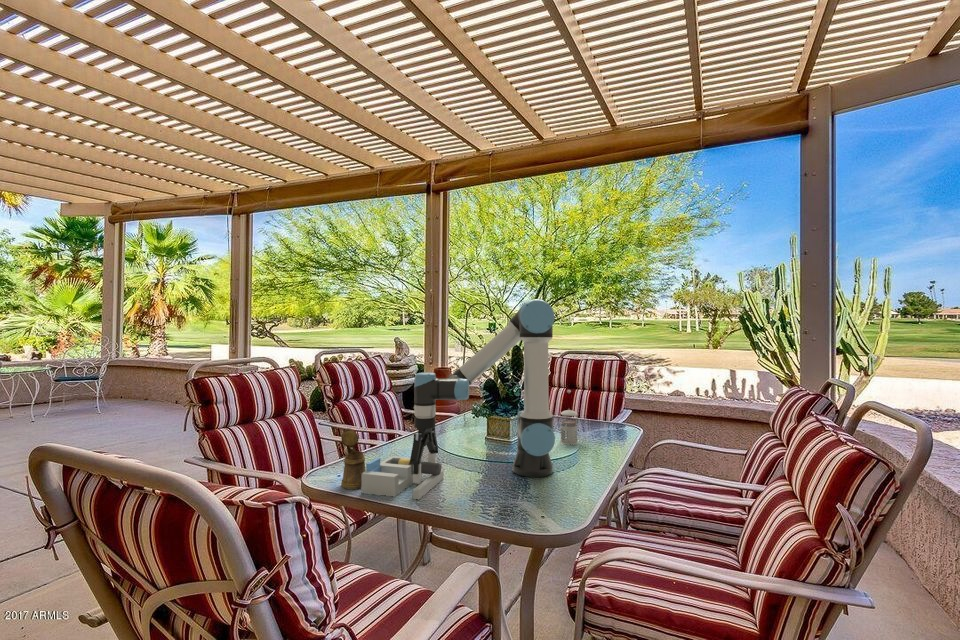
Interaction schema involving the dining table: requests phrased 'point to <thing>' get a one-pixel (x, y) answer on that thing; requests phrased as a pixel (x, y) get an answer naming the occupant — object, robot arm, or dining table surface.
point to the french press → (569, 428)
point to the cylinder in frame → (393, 478)
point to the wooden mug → (352, 461)
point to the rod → (425, 466)
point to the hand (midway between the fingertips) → (424, 477)
